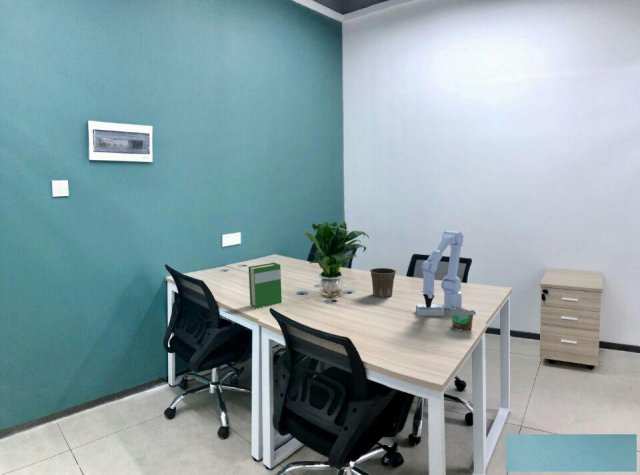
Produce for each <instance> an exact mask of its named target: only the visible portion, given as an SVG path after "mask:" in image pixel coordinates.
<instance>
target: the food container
mask: <svg viewBox="0 0 640 475" xmlns="http://www.w3.org/2000/svg"><path fill="white" fill-rule="evenodd" d="M449 311H450V312H451V320H452V321H451V322H452V327H453V328H454V329H456V328H457V329H456V330H459V329H462V330H461V331H471V330H472V326H473V320H474V316H475V311H474V309H473V310H468V309H467V308H464V307H463V308H462V307H461V308H456V307H453V305H452V306H451V309H449Z"/></svg>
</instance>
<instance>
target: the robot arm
mask: <svg viewBox="0 0 640 475" xmlns="http://www.w3.org/2000/svg"><path fill="white" fill-rule="evenodd" d="M463 243H464V235H463V233H462V232H461V231H453V230H452V231H451V230H447V229H446V230H444V232H443V233H442V235H441V240H440V243H439V245H437V248H436V249H435V250H432V252H431V253H430V255H429V256H428V258H427V259H426V260H424V261H423V262H422V264H421V266H420V269H421V271H422V275H423V278H422V280H423V281H422V282H423V284H422V285H423V288H422V289H421V291H420V293H423V294H422V296H423V298H424V304H426V307H431V304H433V300H434V298H435V295H434V294H435V273H436V271H437V269H438V265H439V262H440V261H441V259H442V258H443V253H444V251H445V250H446V249H447V248H448V246H449V247H450V253H449V261H448V267H447V274H446V275H444V276H443V277H442V281H441V284H440V286H441V289H442V291H443V292H444V293H443V294H444V295H443V297H444V298H443V303H441V306H442V307H443V309H447V310H448V309H449V310H450V309H451V306H452V305H453V307H456V308H462V304H463V303H462V302H463V301H462V300H463V299H462V297H463V295H462V292H461V289H462V284H461V282H462V280H461V279H460V277H459V276H458V270H459V263H460V258H461V257H460V256H461V249H462V246H463Z"/></svg>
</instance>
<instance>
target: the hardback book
mask: <svg viewBox="0 0 640 475" xmlns="http://www.w3.org/2000/svg"><path fill="white" fill-rule="evenodd" d="M281 275H282V273H281V264H279V263H277V262H271V263H264V264H257V265H252V266H248V283H249V284H248V285H249V286H248V288H249V306H250V305H253V307H255V309H256V308H257V309H260V308H259V307H261V308H264V307H263V306H265V307H269V306H273V305H274V306H275V305H278V304H282V276H281Z"/></svg>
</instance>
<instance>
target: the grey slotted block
mask: <svg viewBox="0 0 640 475" xmlns="http://www.w3.org/2000/svg"><path fill="white" fill-rule="evenodd" d="M415 313H416V315H417V317H445V308H443V309H418V306H417V304H416V305H415Z"/></svg>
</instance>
